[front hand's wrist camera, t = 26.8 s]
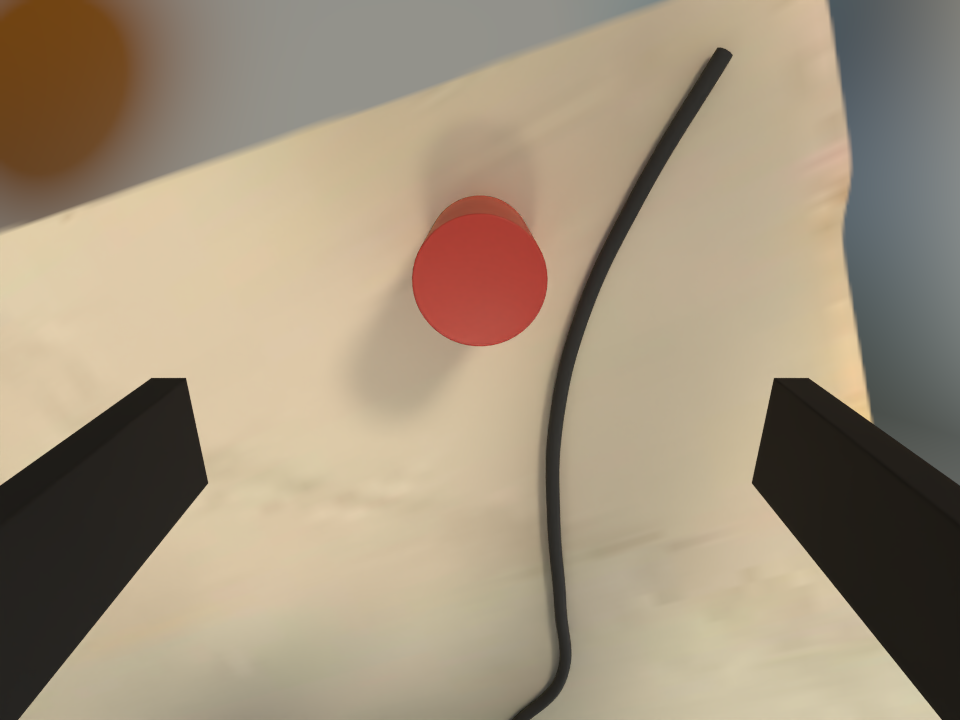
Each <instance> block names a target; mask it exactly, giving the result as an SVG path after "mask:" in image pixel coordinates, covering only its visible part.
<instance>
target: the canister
mask: <svg viewBox="0 0 960 720" xmlns="http://www.w3.org/2000/svg"><path fill="white" fill-rule="evenodd" d="M412 286H413V292H414V297H415V300H416V303H417V305H418V307H419V310H420V312H421V313H422V315H423V316H424V318H425V319H426V320H427V322H428V323H429V324H430V325H431V326H432V327H433V328H434V329H435V330H436V331H437V332H439V333H440V334H442V335H443V336H445V337H447V338H448V339H450V340H453V341H455V342H458V343H461V344H465V345H471V346H489V345H495V344H499V343H502V342H505V341H507V340H509V339H511V338H513V337H515V336H517V335H518V334H519V333H521V332H522V331H523V330H525V329H526V328H527V327H528V326H529V325H530V324H531V322H532V321H533V320H534V319H535V317H536V316H537V314H538V313H539V311H540V309H541V307H542V305H543V302H544V299H545V296H546V290H547V269H546V264H545V260H544V258H543V255H542V252H541V251H540V249H539V247H538V245H537V243H536V241H535V240H534V238H533V236H532V234H531V233H530V231H529V229H528V227H527V226H526V224H525V222H524V220H523V219H522V218H521V216H520V215H519V214H518V213H517V211H516V210H515V209H513V208H512V207H511V206H510V205H508V204H507V203H505V202H503V201H501V200H499V199H497V198H493V197H489V196H471V197H467V198H463V199H461V200H458V201H456V202H455V203H453V204H451V205H450V206H449V207H447V208H446V209H445V210H444V211H443V212H442V213H441V214H440V216H439V217H438V219H437V220H436V222H435V224H434V225H433V227H432V229H431V230H430V232H429V234H428V236H427V237H426V239H425V241H424V243H423V244H422V246H421V248H420V250H419V252H418V254H417V257H416V259H415V263H414V267H413V275H412Z"/></svg>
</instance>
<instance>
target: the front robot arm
mask: <svg viewBox="0 0 960 720" xmlns="http://www.w3.org/2000/svg"><path fill="white" fill-rule="evenodd" d="M732 56H733V55H732V54H731V52H729V51H728V50H726V49H723V48H717V49H716V51H715V53H714V54H713V56H712V58H711V59H710V61H709V63H708V64H707V66H706V68H705V69H704V71H703V72H702V74H701V76H700V77H699V79H698V81H697V82H696V84H695V85H694V87H693V89H692V90H691V92H690V94H689V95H688V97H687V98H686V100H685V102H684V103H683V105H682V106H681V108H680V110H679V111H678V113H677V114H676V116H675V118H674V119H673V121H672V123H671V124H670V126H669V127H668V129H667V131H666V132H665V134H664V136H663V137H662V139H661V141H660V142H659V144H658V146H657V147H656V149H655V151H654V152H653V154H652V156H651V158H650V159H649V161H648V163H647V165H646V166H645V168H644V170H643V172H642V174H641V175H640V177H639V179H638V181H637V183H636V185H635V187H634V188H633V190H632V192H631V194H630V196H629V198H628V200H627V202H626V204H625V205H624V207H623V209H622V211H621V213H620V215H619V217H618V219H617V221H616V222H615V224H614V226H613V228H612V230H611V232H610V234H609V236H608V238H607V240H606V242H605V244H604V246H603V248H602V250H601V252H600V254H599V256H598V258H597V260H596V263H595V265H594V267H593V269H592V271H591V274H590V276H589V278H588V281H587V283H586V286H585V288H584V291H583V293H582V296H581V299H580V301H579V304H578V307H577V310H576V312H575V315H574V318H573V321H572V324H571V327H570V330H569V333H568V336H567V340H566V343H565V346H564V350H563V353H562V357H561V361H560V365H559V369H558V373H557V378H556V383H555V388H554V394H553V400H552V406H551V413H550V421H549V429H548V439H547V452H546V497H547V524H548V541H549V553H550V562H551V571H552V581H553V592H554V608H555V619H556V626H557V633H558V639H559V647H560V661H559V667H558V671H557V674H556V676H555V678H554V680H553V682H552V683H551V685H550V686H549V688H548V689H547V690H546V691H545V692H544V693H543V694H542V695H541V696H540V697H538V698H537V699H536V700H535V701H533V702H532V703H531V704H530V705H528V706H527V707H526V708H525V709H523V710H522V711H521V712H520V713H519V714H518V715H516V716H515V718H514V719H513V720H530V719H532V718H533V717H534V716H535V715H537V714H538V713H539V712H541V711H542V710H543V709H544V708H546V707H547V706H548V705H549V704H550V703H551V702H552V701H553V700H554V699H555V698H556V697H557V696H558V694H559V693H560V692H561V690H562V688H563V686H564V684H565V682H566V679H567V677H568V673H569V669H570V664H571V642H570V634H569V628H568V620H567V609H566V590H565V578H564V568H563V558H562V546H561V530H560V495H559V462H560V446H561V436H562V428H563V420H564V413H565V407H566V401H567V395H568V390H569V385H570V380H571V376H572V371H573V368H574V364H575V360H576V356H577V353H578V350H579V346H580V343H581V340H582V337H583V334H584V331H585V328H586V325H587V322H588V320H589V317H590V314H591V311H592V309H593V306H594V303H595V301H596V298H597V296H598V293H599V291H600V288H601V286H602V284H603V282H604V279H605V277H606V275H607V273H608V270H609V268H610V266H611V264H612V262H613V260H614V258H615V256H616V254H617V252H618V250H619V248H620V246H621V244H622V242H623V240H624V238H625V237H626V235H627V233H628V231H629V229H630V227H631V225H632V223H633V222H634V220H635V218H636V216H637V214H638V212H639V210H640V209H641V207H642V205H643V203H644V201H645V199H646V198H647V196H648V194H649V192H650V190H651V188H652V187H653V185H654V183H655V181H656V180H657V178H658V176H659V174H660V172H661V171H662V169H663V167H664V166H665V164H666V162H667V161H668V159H669V157H670V156H671V154H672V152H673V151H674V149H675V147H676V146H677V144H678V142H679V141H680V139H681V138H682V136H683V134H684V133H685V131H686V130H687V128H688V126H689V125H690V123H691V122H692V120H693V118H694V117H695V115H696V114H697V112H698V111H699V109H700V107H701V106H702V104H703V103H704V101H705V100H706V98H707V96H708V95H709V93H710V92H711V90H712V88H713V87H714V85H715V84H716V82H717V80H718V79H719V77H720V76H721V74H722V72H723V71H724V69H725V68H726V66H727V64H728V63H729V61H730V59H731V58H732ZM207 484H208V480H207V475H206V470H205V466H204V461H203V456H202V452H201V447H200V442H199V437H198V433H197V428H196V423H195V419H194V414H193V409H192V404H191V400H190V395H189V390H188V386H187V381H186V378H151V379H150V380H148V381H147V382H145V383H144V384H143V385H141V386H140V387H138V388H137V389H136V390H134V391H133V392H131V393H130V394H129V395H127V396H126V397H124V398H123V399H121V400H120V401H119V402H117V403H116V404H114V405H113V406H112V407H110V408H109V409H107V410H106V411H105V412H103V413H102V414H100V415H99V416H98V417H96V418H95V419H93V420H92V421H91V422H89V423H88V424H86V425H85V426H84V427H82V428H81V429H79V430H78V431H76V432H75V433H74V434H72V435H71V436H69V437H68V438H67V439H65V440H64V441H62V442H61V443H60V444H58V445H57V446H55V447H54V448H53V449H51V450H50V451H48V452H47V453H46V454H44V455H43V456H41V457H40V458H38V459H37V460H36V461H34V462H33V463H31V464H30V465H29V466H27V467H26V468H24V469H23V470H22V471H20V472H19V473H17V474H16V475H15V476H13V477H12V478H10V479H9V480H8V481H6V482H5V483H3V484H2V485H1V486H0V720H18V719H19V718H20V717H21V715H22V714H23V713H24V712H25V710H26V709H27V708H28V707H29V706H30V704H31V703H32V702H33V701H34V699H35V698H36V697H37V696H38V694H39V693H40V692H41V691H42V689H43V688H44V687H45V686H46V684H47V683H48V682H49V681H50V679H51V678H52V677H53V676H54V674H55V673H56V672H57V671H58V669H59V668H60V667H61V666H62V664H63V663H64V662H65V661H66V659H67V658H68V657H69V656H70V654H71V653H72V652H73V651H74V649H75V648H76V647H77V646H78V645H79V643H80V642H81V641H82V640H83V638H84V637H85V636H86V635H87V633H88V632H89V631H90V630H91V628H92V627H93V626H94V625H95V623H96V622H97V621H98V620H99V618H100V617H101V616H102V615H103V613H104V612H105V611H106V610H107V608H108V607H109V606H110V605H111V603H112V602H113V601H114V600H115V598H116V597H117V596H118V595H119V593H120V592H121V591H122V590H123V588H124V587H125V586H126V585H127V584H128V582H129V581H130V580H131V579H132V577H133V576H134V575H135V574H136V572H137V571H138V570H139V569H140V567H141V566H142V565H143V564H144V562H145V561H146V560H147V559H148V557H149V556H150V555H151V554H152V552H153V551H154V550H155V549H156V547H157V546H158V545H159V544H160V542H161V541H162V540H163V539H164V537H165V536H166V535H167V534H168V532H169V531H170V530H171V529H172V527H173V526H174V525H175V524H176V523H177V521H178V520H179V519H180V518H181V516H182V515H183V514H184V513H185V511H186V510H187V509H188V508H189V506H190V505H191V504H192V503H193V501H194V500H195V499H196V498H197V496H198V495H199V494H200V493H201V491H202V490H203V489H204V488H205V486H206V485H207ZM752 484H753V485H754V486H755V488H756V489H757V490H758V491H759V493H760V494H761V495H762V496H763V498H764V499H765V500H766V501H767V503H768V504H769V505H770V506H771V508H772V509H773V510H774V511H775V513H776V514H777V515H778V516H779V518H780V519H781V520H782V521H783V523H784V524H785V525H786V526H787V527H788V529H789V530H790V531H791V532H792V534H793V535H794V536H795V537H796V539H797V540H798V541H799V542H800V544H801V545H802V546H803V547H804V549H805V550H806V551H807V552H808V554H809V555H810V556H811V557H812V559H813V560H814V561H815V562H816V564H817V565H818V566H819V567H820V569H821V570H822V571H823V572H824V574H825V575H826V576H827V577H828V579H829V580H830V581H831V582H832V584H833V585H834V586H835V587H836V588H837V590H838V591H839V592H840V593H841V595H842V596H843V597H844V598H845V600H846V601H847V602H848V603H849V605H850V606H851V607H852V608H853V610H854V611H855V612H856V613H857V615H858V616H859V617H860V618H861V620H862V621H863V622H864V623H865V625H866V626H867V627H868V628H869V630H870V631H871V632H872V633H873V635H874V636H875V637H876V638H877V640H878V641H879V642H880V643H881V645H882V646H883V647H884V648H885V649H886V651H887V652H888V653H889V654H890V656H891V657H892V658H893V659H894V661H895V662H896V663H897V664H898V666H899V667H900V668H901V669H902V671H903V672H904V673H905V674H906V676H907V677H908V678H909V679H910V681H911V682H912V683H913V684H914V686H915V687H916V688H917V689H918V691H919V692H920V693H921V694H922V696H923V697H924V698H925V699H926V701H927V702H928V703H929V704H930V706H931V707H932V708H933V709H934V710H935V712H936V713H937V714H938V715H939V717H940V718H941V719H942V720H960V486H959V485H958V484H957V483H955V482H954V481H952V480H951V479H950V478H948V477H947V476H945V475H944V474H943V473H941V472H940V471H938V470H937V469H935V468H934V467H933V466H931V465H930V464H928V463H927V462H926V461H924V460H923V459H922V458H920V457H919V456H917V455H916V454H914V453H913V452H912V451H910V450H909V449H907V448H906V447H905V446H903V445H902V444H900V443H899V442H898V441H896V440H895V439H893V438H892V437H891V436H889V435H888V434H886V433H885V432H884V431H882V430H881V429H879V428H878V427H876V426H875V425H874V424H872V423H871V422H869V421H868V420H867V419H865V418H864V417H862V416H861V415H860V414H858V413H857V412H855V411H854V410H853V409H851V408H850V407H848V406H847V405H846V404H844V403H843V402H841V401H840V400H839V399H837V398H836V397H834V396H833V395H831V394H830V393H829V392H827V391H826V390H824V389H823V388H822V387H820V386H819V385H817V384H816V383H815V382H813V381H812V380H810V379H809V378H774V381H773V386H772V390H771V395H770V400H769V404H768V409H767V414H766V419H765V423H764V428H763V433H762V437H761V442H760V447H759V452H758V456H757V461H756V466H755V470H754V475H753V480H752Z"/></svg>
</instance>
